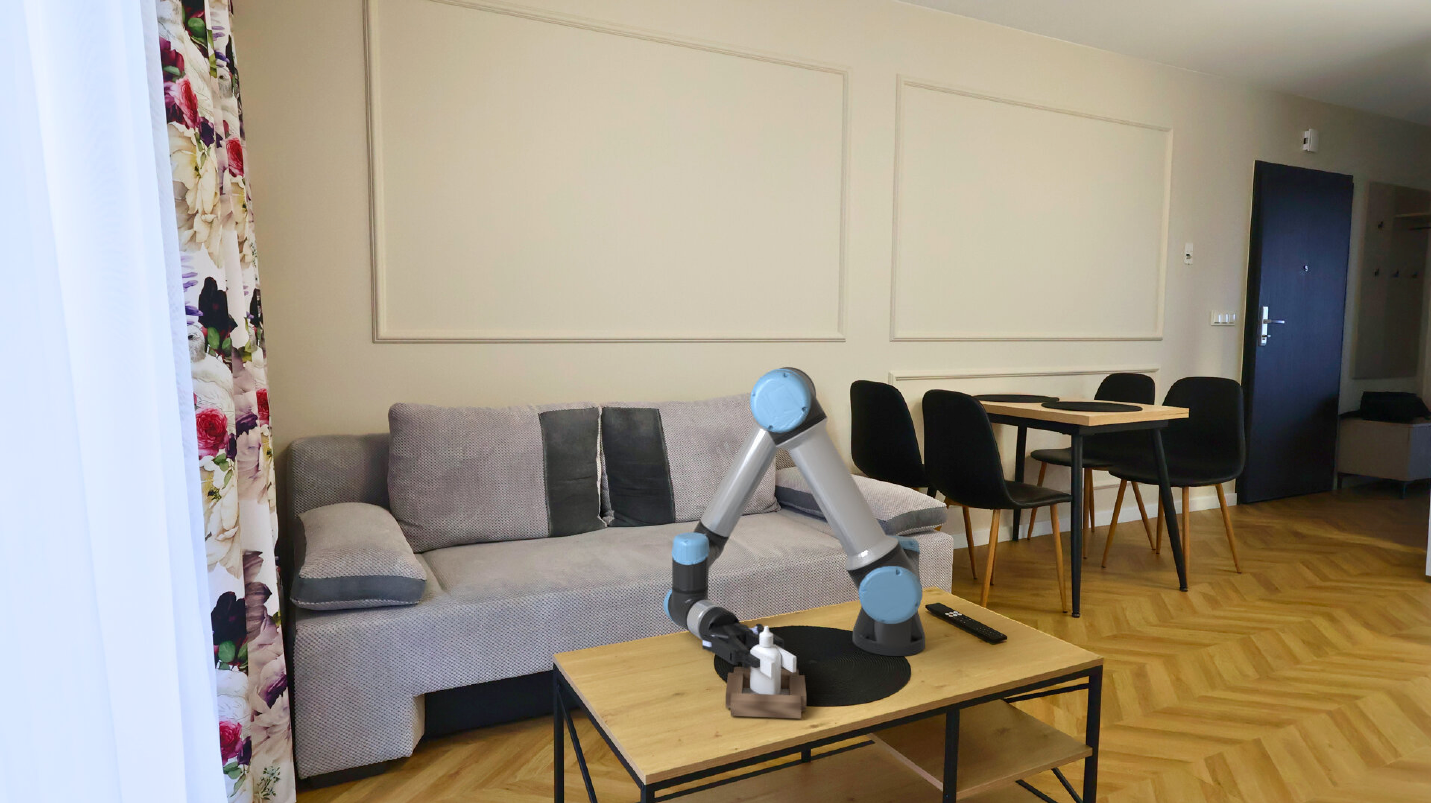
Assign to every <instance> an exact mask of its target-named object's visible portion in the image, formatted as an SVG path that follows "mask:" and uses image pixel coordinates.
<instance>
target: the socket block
mask: <svg viewBox="0 0 1431 803" xmlns="http://www.w3.org/2000/svg"><path fill="white" fill-rule="evenodd" d="M750 667H751V666H749V668H742V666H734V667H733V672H727V680H726V681H727V682H726V688H725V689H726V690H725V709H730V716H733V717H757V718H759V717H760V718H778V719H779V718H780V719H781V718H782V719H783V718H785V719H801V718H802V712H806V711H807V691H806V690H807V689H806V678H805V675H804V674H803V675H801V674H800V671H799V668H796V672H793V673H792V672H791V671H789V670H787V669H786V668H784V667H781V691H780V693H779V694H778V695H771V694H758V693H756V692H754V691H753V690H752V689H751V688H750Z"/></svg>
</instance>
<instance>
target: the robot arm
mask: <svg viewBox="0 0 1431 803" xmlns="http://www.w3.org/2000/svg"><path fill="white" fill-rule="evenodd" d="M749 400H750V401H749V404H750V410H751V413H752V416H753V421H754V423H753V425H752V426H751V428H750V430H749V431H748V433H747V435H746V436H745V439H744V441H743V442H742V444H741V446H740V447H739V449H738V451H737V453H736V454H735V457H734V458H733V460H732V462H731V463H730V465H729V468H728V469H727V471H726V472H725V474H724V476H723V478H722V480H721V482H720V484H719V485H718V487H717V488H716V491H715V492H714V494H713V496H712V497H711V499H710V501H709V503H708V505H707V507H706V509H705V511H704V512H703V514H702V516H701V518H700V520H699V521H698V523H697V524H696V526H695V528H694V530H693V532H690V531H689V532H682V533H679V534H677V535H675V536H674V537H673V540H672V550H671V557H672V558H671V560H672V562H671V564H672V566H671V568H672V569H671V571H672V572H671V575H672V576H671V579H672V580H671V581H672V582H671V588H670V589H669V590H668V591H667V592H666V595H665V597H664V599H663V602H662V604H663V605H662V606H663V610H664V613H665V614H666V616H667V618H669V619H670V620H671V621H672V622H673V624H675V625H677V626H678V627H681V628H683V629H685V630H686V631H688V632H689V633H691V634H692V635H694V636H696V637H697V638H698V639H700V640H701V641H702V649H703V650H705V651H709V652H712V653H713V654H714V655H716V656H718V657H719V658H721V659H722V660H724V661H726V662H727V663H729V664H731V665H733V666H737V665H739V663H741V665H742V666H741V667H742V668H749V667H753V668H756V669H758V670H759V671H761V672H762V673H764V674H766V675H767V676H769V677H770V678H773V677H775V662H774V661H773V660H771V659H769V658H768V657H766V656H764V655H763V654H761V653H760V652H758V651H756V650H755V649H752V648H753V647H754V646H756V645H759V639H760V633H761V632H763V631H764V627H765V626H764V625H763V624H762V623H756V625H755V626H754V627H750V626H748V625H747V624H743V623H741V621H740V620H739V619H738V617H737V615H736V614H735V613H733V612H731V611H730V610H729V609H727V608H724V607H723V606H721V605H720V604H718V603H716V602H715V601H712V600H711V599H709V571H710V568H711V567H712V565H714V563H715V562H716V561H717V559H719V557H720V556H721V555H722V553H723V551H724V549H725V546H726V544H727V542H728V540H730V539H729V538H730V536H731V535H732V533H733V531H734V529H735V528H736V526H737V525H738V523H739V521H740V519H741V517H742V516H743V514H744V512H745V510H746V508H747V507H748V505H749V503H750V501H751V500H752V498H753V496H754V495H755V493H756V492H757V490H758V488H759V486H760V484H761V483H762V481H763V479H764V477H765V475H766V473H767V472H768V470H769V468H771V465H772V463H773V461H774V459H775V458H776V456H777V455H778V452H779V451H780V449H782V450H785V451H787V453H788V454H789V456H790V458H791V460H792V461H793V463H794V465H795V466H796V469H797V470H798V473H799V474H800V476H801V478H802V479H803V481H804V482H805V485H806V486H807V488H808V489H809V491H810V493H811V495H812V497H813V498H814V500H815V502H816V504H817V505H818V507H819V509H820V511H821V512H822V514H823V516H824V517H825V520H826V521H827V523H828V525H829V527H830V528H831V529H832V531H833V533H834V535H835V537H836V539H837V540H838V542H839V543H840V546H841V548H842V549H843V551H844V553H845V554H846V556H847V558H846V561H845V566H844V568H845V570H846V572H847V574H848V575H849V577H850V578H851V580H852V582H853V583H854V585H855V588H856V590H857V591H858V592H857V593H858V599H859V604H860V605H861V607H860V609H859V611H858V612H859V613H858V615H857V618H856V620H855V623H854V626H853V629H852V642H853V644H854V645H855V646H856V647H858V648H859V649H861V650H863V651H865V652H868V653H872V654H875V655H879V656H880V655H881V656H888V657H905V656H911V655H916V654H919V653H921V652H923V650H925V649H926V648H925V647H926V633H925V631H924V627H923V624H922V620H921V616H920V614H919V609H920V607H921V606H920V605H921V602H922V600H923V592H924V591H923V587H922V582H921V574H920V573H921V572H920V555H921V549H920V543H919V541H918V540H917V539H915V538H914V537H908V536H902V535H888V534H886V533H885V531H884V529H883V527H882V526H881V524H880V522H879V521H878V518H877V517H876V515H875V513H874V512H873V510H872V508H871V506H870V505H869V503H868V502H867V500H866V497H865V496H864V494H863V493H862V490H861V489H860V487H859V486H858V483H857V482H856V480H855V478H854V477H853V475H852V473H851V472H850V470H849V468H848V467H847V465H846V463H845V461H844V459H843V458H842V456H841V454H840V452H839V450H838V449H837V447H836V445H835V444H834V442H833V440H832V439H831V436H830V435H829V433H828V432H827V429H826V427H827V423H828V416H827V414H826V413H825V411H824V408H823V407H822V405H821V403H820V402H819V400H818V399H817V390H816V386H815V383H814V381H813V379H812V378H811V377H810V376H809V375H808V374H807V373H806V372H805V371H803V370H801V369H799V368H796V367H793V366H792V367H791V366H789V367H788V366H786V367H780V368H776V369H772V370H770V371H767V372H765V374H764V375H762V376H760V377H759V379H758V380H757V381H756V383H755V384H754V386H753V388H752V389H751V393H750V399H749ZM769 632H771V633H772V634H773V646H774V647H775V648H776V649H777V650H778V651H779V652H780V654H781V668H784V669H787V670H789V671H791V672H792V673H793V672H796V669H797V656H796V655H794V654H792V653H791V652H789V651H788V650H786V649H785V640H784V639H783V638H781V637H780V636H779V635H776V634H775V633H773V632H772V631H770V630H769ZM750 648H751V649H752V650H751V649H750ZM749 649H750V650H749Z"/></svg>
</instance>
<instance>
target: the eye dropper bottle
mask: <svg viewBox="0 0 1431 803" xmlns="http://www.w3.org/2000/svg"><path fill="white" fill-rule="evenodd" d="M763 627H764V631H763V632H761V633H760V639H759V645H756V646H754V647H753V648H751V649H750V650H752V649H755V650H756V651H758V652H760V653H761V654H763V655H764V656H766V657H768V658H769V659H771V660H773V661H774V662H775V677H773V678H770V677H769V676H767V675H766V674H764V673H762V672H761V671H759V670H758V669H756V668H753V667H751V666H749V667H750V688H751V689H752V690H753V691H754V692H756V693H758V694H771V695H778V694H779V693H780V691H781V668H782V666H781V654H780V652H779V651H778V650H777V649H776V648H775V647H774V646H773V634H774V633H773V632H772V631H770V628H769V626H768V625H764V626H763ZM769 631H770V632H769ZM771 632H772V633H773V634H772V633H771Z"/></svg>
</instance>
